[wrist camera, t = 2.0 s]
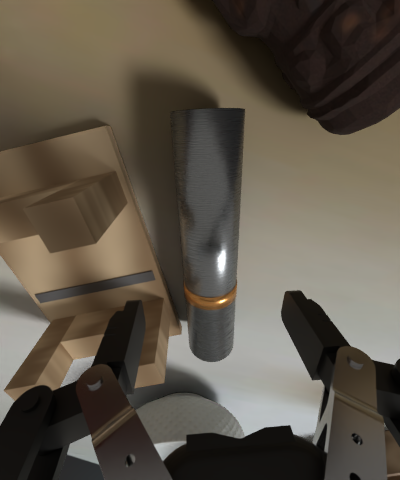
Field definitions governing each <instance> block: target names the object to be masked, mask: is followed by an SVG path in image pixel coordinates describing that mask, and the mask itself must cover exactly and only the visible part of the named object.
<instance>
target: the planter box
mask: <svg viewBox="0 0 400 480" xmlns="http://www.w3.org/2000/svg"><path fill="white" fill-rule="evenodd" d="M385 448H386V465H387V480H400V447H399V445H398V444H397V442H396V441H395V439H394V437H393V436H392V434H391V433H390V431H389V430H387V431H385Z"/></svg>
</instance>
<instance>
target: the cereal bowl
mask: <svg viewBox="0 0 400 480" xmlns="http://www.w3.org/2000/svg"><path fill="white" fill-rule="evenodd" d="M136 412H137V414H138V416H139V418H140V420H141V422H142V424H143V425H144V427H145V429H146V431H147V433H148V435H149V437H150V439H151V440H152V442H153V444H154V446H155V448H156V450H157V452H158V453H159V455H160V457H161V459H162V461H164V459H165V458H166V457H167V456H168V455H169V454H170V453H172V452H173V451H174V450H175V449H177V448H178V447H180V446H182V445H184V444H186V435H189V434H200V433H211V432H213V433H217V434H221V435H226V436H230V437H234V438H243V437H245V436H244V432H243V430H242V428H241V426H240V424H239V422H238V421H237V420H236V418H235V417H234V416H233V415H232V414H231V413H230V412H229V411H228V410H227V409H226V408H225V407H223V406H221V405H220V404H218V403H216V402H213V401H211V400H208V399H205V398H204V397H202V396H200V395H197V394H193V393H174V394H170V395H167V396H165V397H163V398H160V399H156V400H154V401H151V402H149V403H147V404H145V405H143V406H141V407H140V408H138V409H137V410H136Z"/></svg>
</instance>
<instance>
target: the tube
mask: <svg viewBox="0 0 400 480" xmlns="http://www.w3.org/2000/svg"><path fill="white" fill-rule="evenodd" d="M170 117H171V130H172V142H173V154H174V166H175V178H176V190H177V202H178V214H179V226H180V238H181V250H182V262H183V274H184V293H185V299H186V311H187V323H188V335H189V346H190V349H191V351H192V353H193V354H194V355H195V356H196V357H197V358H199V359H201V360H203V361H207V362H216V361H220V360H222V359H224V358H226V357H227V356H228V355H229V354H230V352H231V351H232V348H233V339H234V319H235V299H236V291H237V260H238V240H239V220H240V200H241V181H242V161H243V141H244V121H245V109H241V108H212V109H192V110H180V111H173V112H170Z"/></svg>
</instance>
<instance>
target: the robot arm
mask: <svg viewBox="0 0 400 480" xmlns="http://www.w3.org/2000/svg"><path fill="white" fill-rule="evenodd" d="M281 316H282V321H283V323H284V325H285V327H286V329H287V331H288V333H289V335H290V337H291V339H292V341H293V343H294V345H295V347H296V349H297V351H298V353H299V355H300V357H301V359H302V361H303V363H304V365H305V367H306V369H307V371H308V373H309V375H310V377H311V378H312V380H322V382H323V384H324V387H323V391H322V397H321V403H320V409H319V415H318V421H317V427H316V431H315V434H314V438H313V442H310V441H308V440H306V439H304V438H302V437H300V436H297V435H293V432H292V430H291V427H290V425H289V426H277V427H266V428H263V429H261V430H259V431H256V432H254V433H252V434H250V435H248V436H246V437H243V438H234V437H230V436H226V435H221V434H217V433H213V432H211V433H200V434H189V435H186V444H184V445H182V446H180V447H178V448H177V449H175V450H174V451H173V452H172V453H170V454H169V455H168V456H167V457H166V458H165V459H164V461H162V459H161V457H160V455H159V453H158V452H157V450H156V448H155V446H154V444H153V442H152V440H151V439H150V437H149V435H148V433H147V431H146V429H145V427H144V425H143V424H142V422H141V420H140V418H139V416H138V414H137V412H136V411H135V409H134V408H133V407H131V405H130V403H129V401H128V399H127V398H126V394H133V393H134V388H135V383H136V378H137V372H138V367H139V362H140V356H141V351H142V346H143V341H144V335H145V329H146V321H145V315H144V309H143V304H142V300H127V301H126V304H125V307H124V310H123V311H116V312H115V314H114V315H113V316H112V317H111V318H110V320H109V322H108V325H107V329H106V330H105V333H104V336H103V338H102V341H101V343H100V346H99V348H98V351H97V353H96V356H95V359H94V361H93V364H92V366H91V367H90V368H89V369H87V370H86V371H85V372H84V373H83V374H82V375H81V376H80V378H79V379H78V380H77V381H75V382H73V383H71V384H68V385H66V386H63V387H61V388H58V389H55V390H53V391H52V389H51V388H50V387H49V386H46V385H39V386H35V387H33V388H31V389H29V390H27V391H26V392H24V393H23V394H22V395H21V396H19V397H18V398H17V400H16V401H15V402H14V403H13V405H12V406H11V408H10V410H9V411H8V413H7V415H6V417H5V418H4V420H3V422H2V424H1V426H0V480H59V477H60V474H61V471H62V468H63V464H64V461H65V458H66V455H67V452H68V448H69V445H70V443H73V442H75V441H77V440H79V439H81V438H83V437H85V436H88V435H90V434H91V437H92V443H93V447H94V450H95V453H96V456H97V459H98V462H99V465H100V468H101V470H102V473H103V476H104V479H105V480H387V465H386V448H385V430H384V423H385V425H386V426H387V428H388V429H389V431H390V433H391V434H392V436H393V437H394V439H395V441H396V442H397V444H398V445H399V447H400V359H399V360H397V362H396V364H395V365H392V364H387V363H383V362H378V361H374V360H371V358H370V357H369V356H368V355H367V354H365V353H364V352H363V351H361V350H359V349H357V348H354V347H351V346H350V345H349V343H348V342H347V341H346V339H345V338H344V337H343V335H342V334H341V333H340V332H339V330H338V329H337V328H336V326H335V325H334V324H333V322H332V321H331V320H330V318H329V317H328V316H327V315H326V313H325V312H324V310H323V309H322V308H321V307H320V305H318V304H317V303H316V302H314V301H313V300H312V299H307V298H306V297H305V296H304V294H303V293H302V292H301V291H300V290H297V291H286V292H285V295H284V300H283V305H282V310H281Z"/></svg>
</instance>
